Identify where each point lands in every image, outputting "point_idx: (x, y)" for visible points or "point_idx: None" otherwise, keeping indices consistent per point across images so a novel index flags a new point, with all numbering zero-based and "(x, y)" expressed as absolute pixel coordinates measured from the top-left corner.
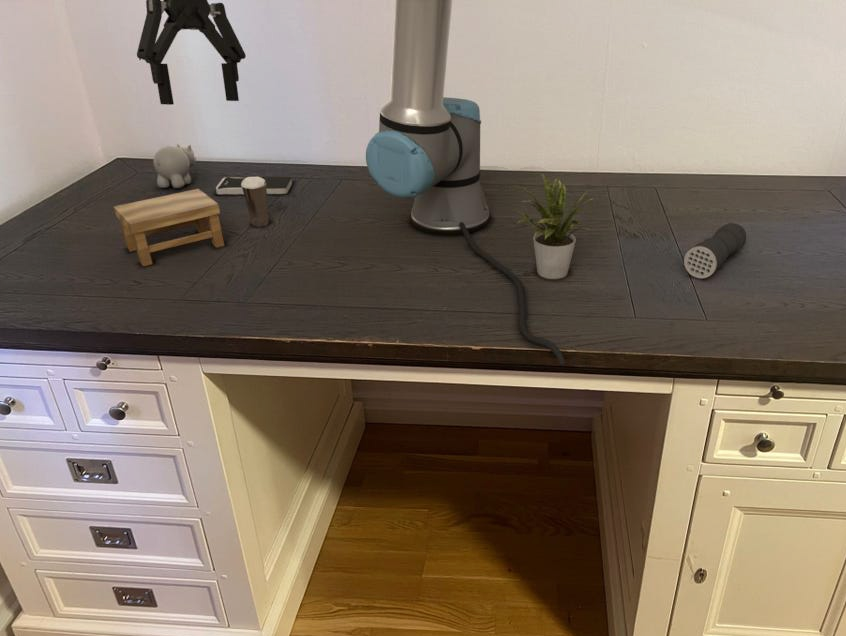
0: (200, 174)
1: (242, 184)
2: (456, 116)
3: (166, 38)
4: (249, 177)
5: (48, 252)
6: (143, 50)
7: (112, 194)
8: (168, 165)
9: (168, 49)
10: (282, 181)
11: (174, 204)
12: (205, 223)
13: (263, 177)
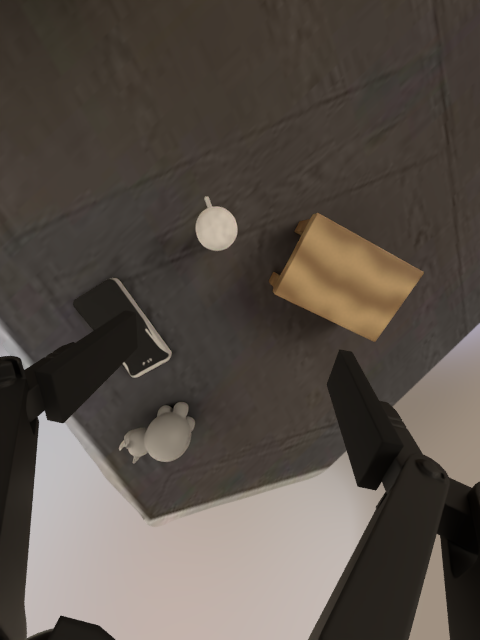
0: (132, 419)
1: (235, 237)
2: None
3: (418, 587)
4: (215, 238)
5: (379, 380)
6: (468, 558)
7: (233, 447)
8: (184, 427)
9: (385, 504)
10: (94, 301)
11: (342, 275)
12: (277, 274)
13: None
